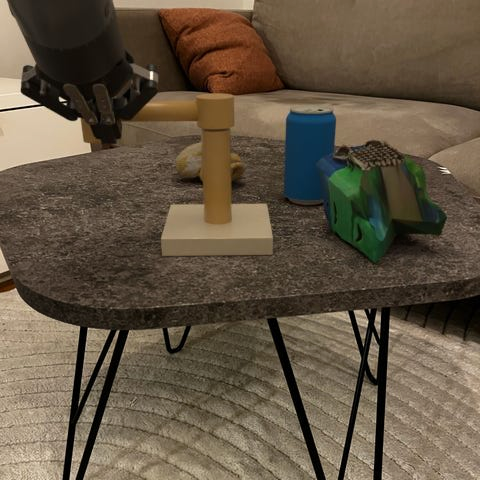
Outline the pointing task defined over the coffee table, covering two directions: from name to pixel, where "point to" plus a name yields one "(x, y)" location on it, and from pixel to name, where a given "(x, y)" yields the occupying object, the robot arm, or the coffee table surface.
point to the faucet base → (217, 212)
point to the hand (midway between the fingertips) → (110, 136)
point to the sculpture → (376, 197)
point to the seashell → (192, 163)
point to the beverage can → (307, 151)
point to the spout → (182, 113)
